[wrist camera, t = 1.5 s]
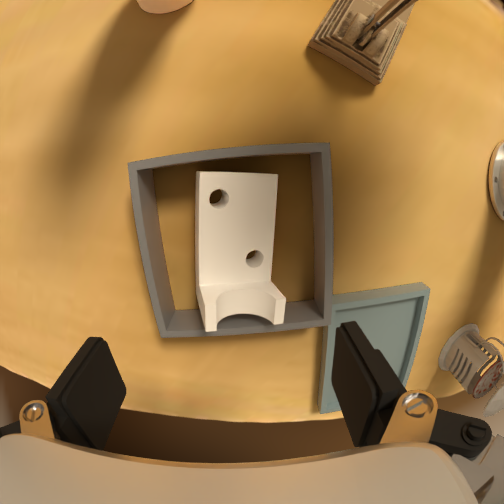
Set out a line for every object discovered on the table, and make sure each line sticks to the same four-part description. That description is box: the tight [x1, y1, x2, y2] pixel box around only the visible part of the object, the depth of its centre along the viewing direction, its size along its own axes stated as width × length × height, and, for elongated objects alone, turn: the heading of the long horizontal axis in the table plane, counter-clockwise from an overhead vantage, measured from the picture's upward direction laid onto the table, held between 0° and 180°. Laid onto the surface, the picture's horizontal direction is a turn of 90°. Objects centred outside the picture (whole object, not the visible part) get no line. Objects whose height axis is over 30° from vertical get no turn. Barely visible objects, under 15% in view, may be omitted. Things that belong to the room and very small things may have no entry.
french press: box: [439, 323, 504, 417], centre depth 23 cm, size 10×12×25 cm
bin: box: [128, 143, 334, 338], centre depth 27 cm, size 18×18×4 cm
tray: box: [317, 282, 430, 414], centre depth 33 cm, size 14×19×2 cm
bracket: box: [195, 171, 286, 332], centre depth 26 cm, size 13×7×8 cm, turn 177°
